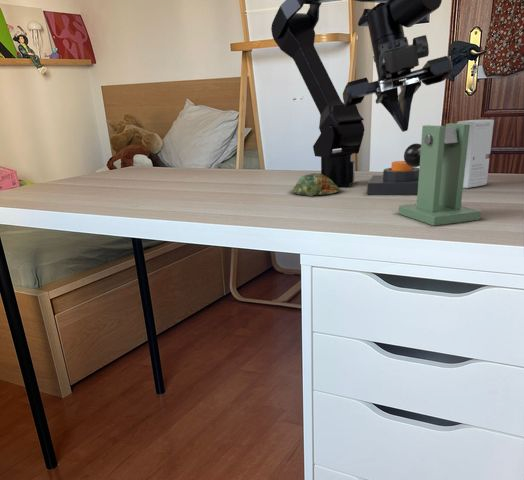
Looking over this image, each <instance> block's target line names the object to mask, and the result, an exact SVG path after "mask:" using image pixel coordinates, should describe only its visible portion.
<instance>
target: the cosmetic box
mask: <svg viewBox="0 0 524 480" xmlns="http://www.w3.org/2000/svg"><path fill="white" fill-rule="evenodd" d="M456 124H470V128H469V137H468V146H467V155H466V164H465V173H464V182H463V189H470V188H476V187H481V186H486V185H487V183H488V175H489V167H490V158H491V151H492V150H491V149H492V141H493V134H494V126H495V125H494V124H495V120H494V119H469V120H459V121H457V122H456Z"/></svg>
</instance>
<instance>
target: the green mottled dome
mask: <svg viewBox="0 0 524 480" xmlns="http://www.w3.org/2000/svg"><path fill="white" fill-rule="evenodd" d="M338 192H340V187H338V186H337V185H336V184H335V183H334V182H333V181H332V180H331V179H330V178H328V177H326V176H325V175H322V174H321V173H310V174H304V175H302V176H300V178H298V180H297V182H296V183H295V186H294V187H293V188H292V190H291V193H292V194H295V195H299V196H302V195H303V196H308V197H314V196H319V195H322V196H323V195H330V194H331V195H332V194H335V193H338Z"/></svg>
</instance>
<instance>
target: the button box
mask: <svg viewBox="0 0 524 480" xmlns="http://www.w3.org/2000/svg"><path fill="white" fill-rule="evenodd" d="M382 174H383V175H379V174H377V175H372V176H371V178H370V179H369V181H368V182H367V194H366V195H368V196H402V195H403V196H417V194H418V180H419V167H412V170H410V171H391V167H388V168H384V169H383V173H382Z"/></svg>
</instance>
